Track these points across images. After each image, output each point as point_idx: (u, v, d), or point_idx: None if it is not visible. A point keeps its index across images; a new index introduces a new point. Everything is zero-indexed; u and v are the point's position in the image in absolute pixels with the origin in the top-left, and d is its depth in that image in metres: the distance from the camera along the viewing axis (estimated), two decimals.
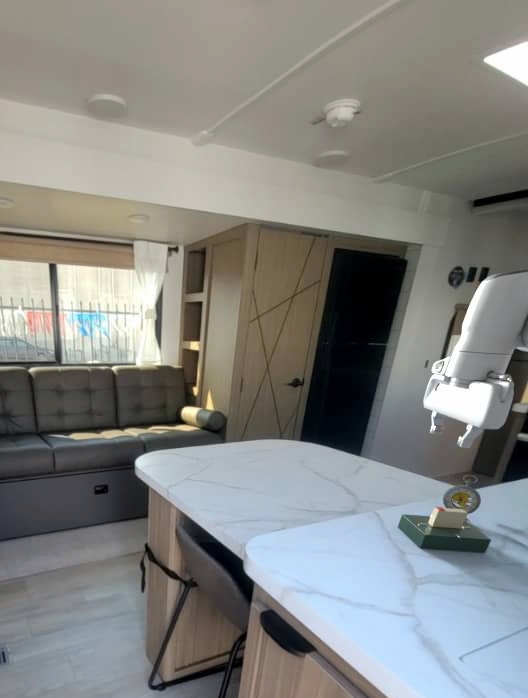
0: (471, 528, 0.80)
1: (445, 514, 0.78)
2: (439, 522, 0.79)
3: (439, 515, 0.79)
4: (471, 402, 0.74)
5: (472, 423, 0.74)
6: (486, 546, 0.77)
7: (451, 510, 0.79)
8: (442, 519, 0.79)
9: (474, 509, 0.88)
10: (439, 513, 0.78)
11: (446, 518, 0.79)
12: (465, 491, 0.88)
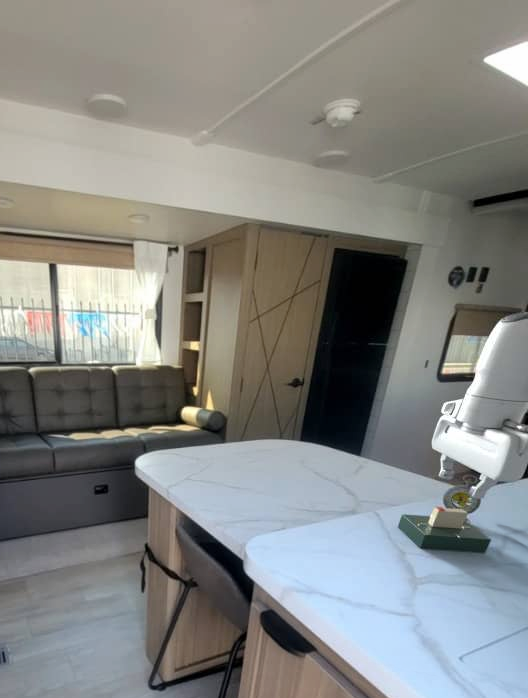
0: (471, 528, 0.80)
1: (445, 514, 0.78)
2: (439, 522, 0.79)
3: (439, 515, 0.79)
4: (485, 451, 0.69)
5: (486, 474, 0.68)
6: (486, 546, 0.77)
7: (451, 510, 0.79)
8: (442, 519, 0.79)
9: (474, 509, 0.88)
10: (439, 513, 0.78)
11: (446, 518, 0.79)
12: (465, 491, 0.88)
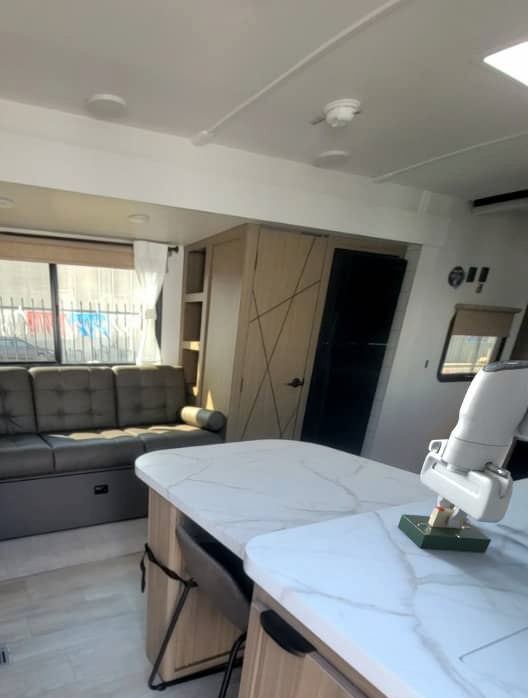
0: (471, 528, 0.80)
1: (445, 514, 0.78)
2: (439, 522, 0.79)
3: (439, 515, 0.79)
4: (469, 492, 0.72)
5: (470, 514, 0.71)
6: (486, 546, 0.77)
7: (451, 510, 0.79)
8: (442, 519, 0.79)
9: None
10: (439, 513, 0.78)
11: None
12: None
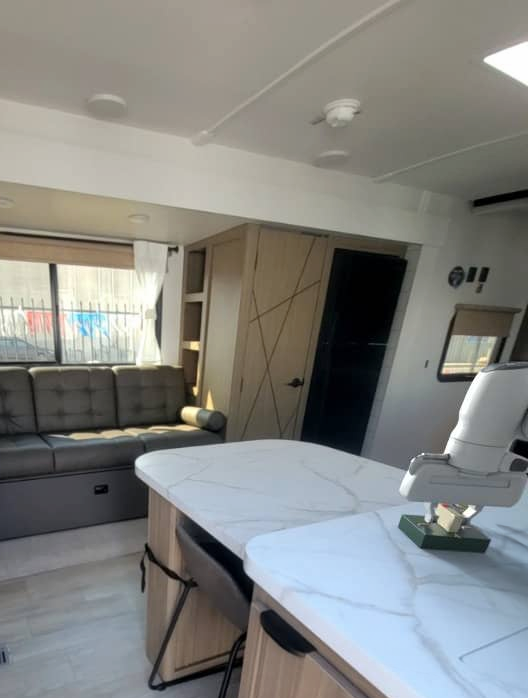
0: (471, 528, 0.80)
1: (442, 509, 0.80)
2: None
3: (438, 509, 0.81)
4: None
5: None
6: (486, 546, 0.77)
7: (449, 509, 0.79)
8: (439, 514, 0.81)
9: None
10: (438, 507, 0.81)
11: (441, 515, 0.80)
12: None
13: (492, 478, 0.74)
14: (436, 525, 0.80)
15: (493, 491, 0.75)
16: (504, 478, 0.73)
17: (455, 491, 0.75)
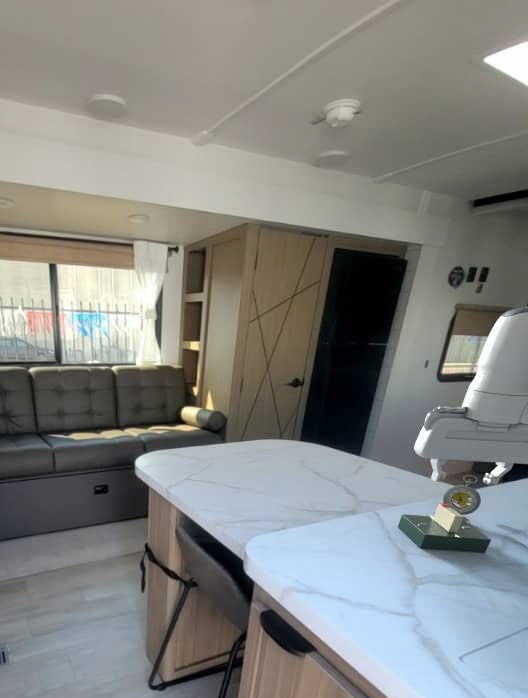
0: (471, 528, 0.80)
1: (442, 509, 0.80)
2: (437, 517, 0.81)
3: (438, 509, 0.81)
4: None
5: None
6: (486, 546, 0.77)
7: (449, 509, 0.79)
8: (439, 514, 0.81)
9: (474, 509, 0.88)
10: (438, 507, 0.81)
11: (441, 515, 0.80)
12: (465, 491, 0.88)
13: (513, 432, 0.70)
14: (436, 525, 0.80)
15: (514, 445, 0.71)
16: (526, 432, 0.70)
17: (473, 447, 0.72)
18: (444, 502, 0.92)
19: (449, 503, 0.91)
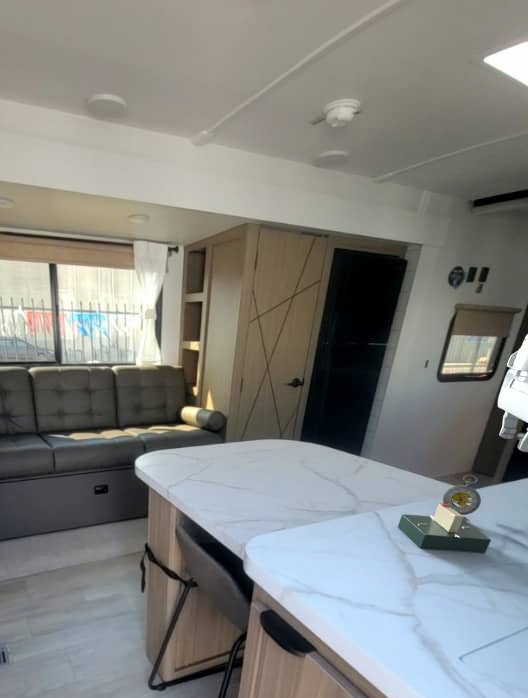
0: (471, 528, 0.80)
1: (442, 509, 0.80)
2: (437, 517, 0.81)
3: (438, 509, 0.81)
4: None
5: None
6: (486, 546, 0.77)
7: (449, 509, 0.79)
8: (439, 514, 0.81)
9: (474, 509, 0.88)
10: (438, 507, 0.81)
11: (441, 515, 0.80)
12: (465, 491, 0.88)
13: None
14: (436, 525, 0.80)
15: None
16: None
17: None
18: (444, 502, 0.92)
19: (449, 503, 0.91)
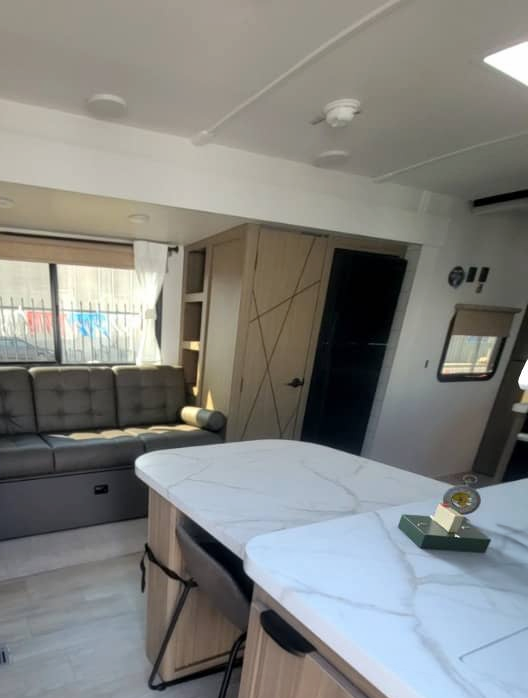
0: (471, 528, 0.80)
1: (442, 509, 0.80)
2: (437, 517, 0.81)
3: (438, 509, 0.81)
4: None
5: None
6: (486, 546, 0.77)
7: (449, 509, 0.79)
8: (439, 514, 0.81)
9: (474, 509, 0.88)
10: (438, 507, 0.81)
11: (441, 515, 0.80)
12: (465, 491, 0.88)
13: None
14: (436, 525, 0.80)
15: None
16: None
17: None
18: (444, 502, 0.92)
19: (449, 503, 0.91)
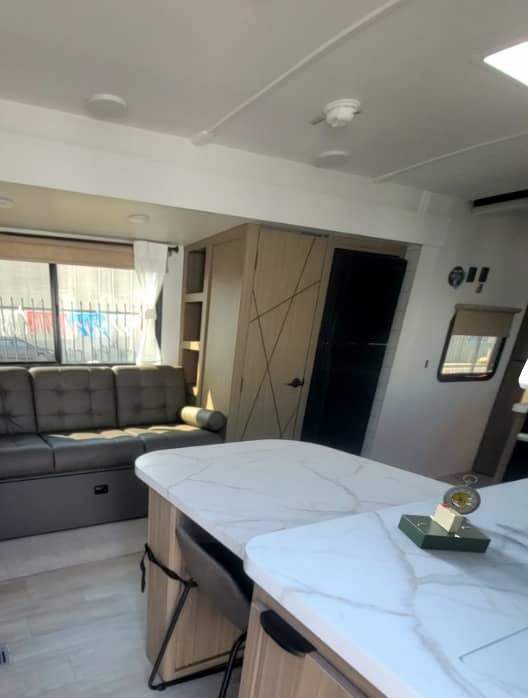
0: (471, 528, 0.80)
1: (442, 509, 0.80)
2: (437, 517, 0.81)
3: (438, 509, 0.81)
4: None
5: None
6: (486, 546, 0.77)
7: (449, 509, 0.79)
8: (439, 514, 0.81)
9: (474, 509, 0.88)
10: (438, 507, 0.81)
11: (441, 515, 0.80)
12: (465, 491, 0.88)
13: None
14: (436, 525, 0.80)
15: None
16: None
17: None
18: (444, 502, 0.92)
19: (449, 503, 0.91)
